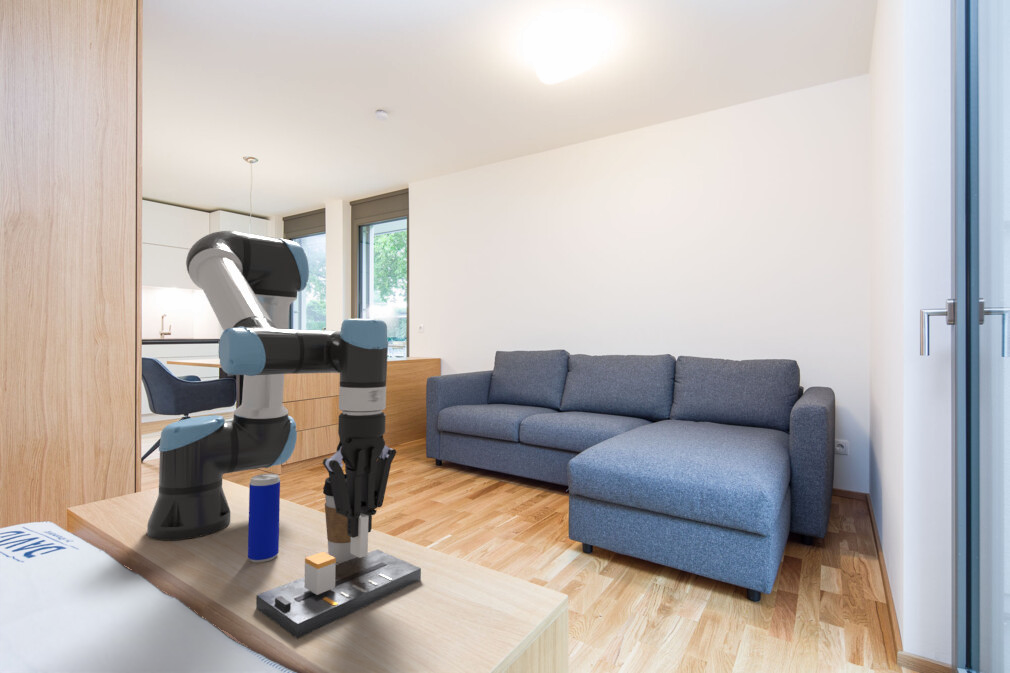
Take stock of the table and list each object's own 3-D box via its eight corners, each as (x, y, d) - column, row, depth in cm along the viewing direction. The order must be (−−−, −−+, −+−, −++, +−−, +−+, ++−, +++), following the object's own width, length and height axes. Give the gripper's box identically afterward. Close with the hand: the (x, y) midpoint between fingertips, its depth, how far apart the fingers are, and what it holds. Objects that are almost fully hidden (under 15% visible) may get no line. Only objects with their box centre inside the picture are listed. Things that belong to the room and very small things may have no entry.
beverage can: (284, 555, 93) (286, 475, 93) (260, 565, 88) (262, 481, 88) (265, 549, 95) (267, 472, 95) (241, 560, 90) (243, 478, 91)
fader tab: (304, 587, 75) (305, 557, 75) (322, 580, 78) (322, 551, 78) (317, 594, 73) (317, 564, 73) (335, 587, 75) (335, 557, 76)
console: (256, 608, 74) (256, 589, 74) (377, 560, 91) (377, 544, 91) (297, 638, 66) (297, 617, 66) (420, 580, 83) (420, 563, 84)
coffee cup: (354, 568, 88) (356, 483, 88) (312, 563, 89) (313, 480, 90) (376, 549, 96) (377, 472, 96) (336, 545, 98) (338, 469, 98)
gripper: (340, 418, 74) (336, 575, 74) (407, 410, 84) (404, 548, 84) (314, 413, 79) (310, 560, 79) (380, 406, 89) (377, 536, 89)
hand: (358, 554), depth 81 cm, fingers closed
